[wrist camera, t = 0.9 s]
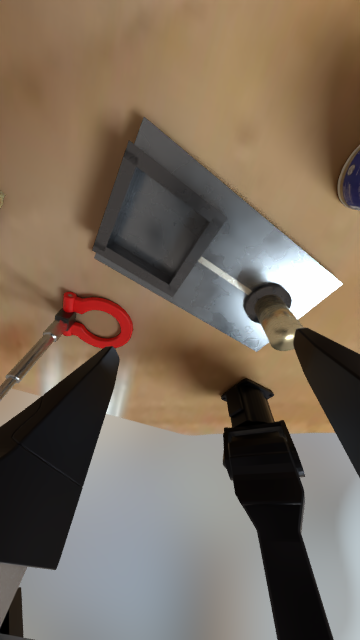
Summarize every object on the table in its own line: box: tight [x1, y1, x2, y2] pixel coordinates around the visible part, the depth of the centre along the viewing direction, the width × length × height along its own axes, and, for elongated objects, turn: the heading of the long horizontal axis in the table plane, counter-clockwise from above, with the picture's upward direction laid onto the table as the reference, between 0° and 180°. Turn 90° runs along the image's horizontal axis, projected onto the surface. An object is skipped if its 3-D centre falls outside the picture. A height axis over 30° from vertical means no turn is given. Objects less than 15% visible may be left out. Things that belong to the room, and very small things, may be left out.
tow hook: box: [0, 292, 133, 401], centre depth 21 cm, size 8×13×9 cm
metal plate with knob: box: [92, 117, 343, 352], centre depth 17 cm, size 23×12×7 cm, turn 58°
